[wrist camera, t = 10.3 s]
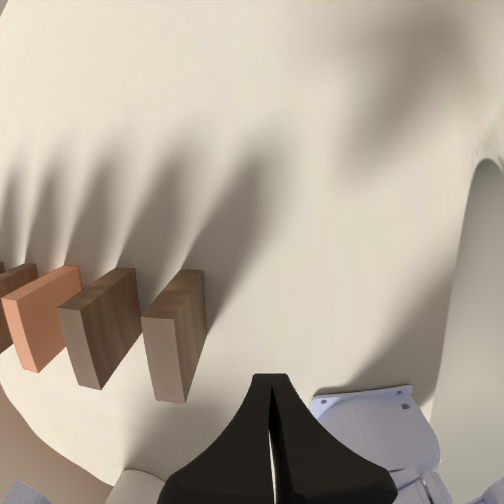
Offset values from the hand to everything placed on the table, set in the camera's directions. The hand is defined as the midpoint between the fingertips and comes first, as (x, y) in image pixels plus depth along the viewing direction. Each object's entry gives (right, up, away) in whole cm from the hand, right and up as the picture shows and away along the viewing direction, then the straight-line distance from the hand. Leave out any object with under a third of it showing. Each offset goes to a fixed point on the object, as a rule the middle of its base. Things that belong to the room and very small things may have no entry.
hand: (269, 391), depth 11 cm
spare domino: (-15, +2, +9) cm, 18 cm away
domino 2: (-10, +2, +9) cm, 14 cm away
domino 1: (-5, +2, +9) cm, 10 cm away
